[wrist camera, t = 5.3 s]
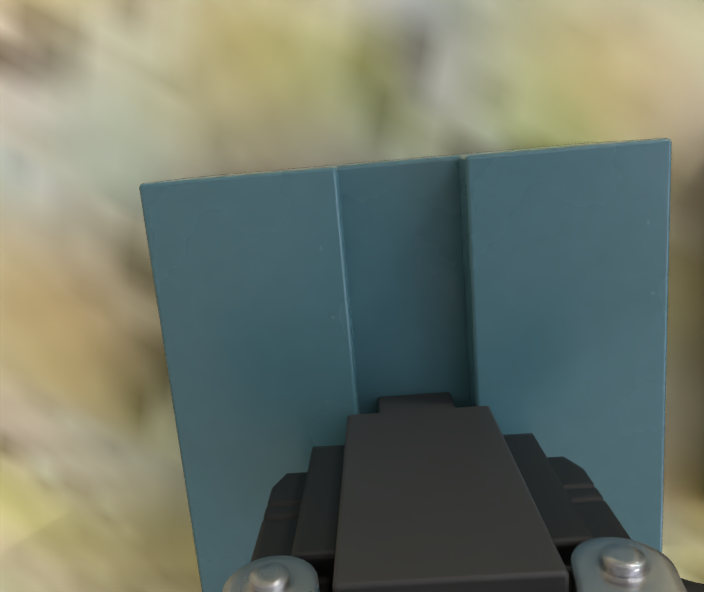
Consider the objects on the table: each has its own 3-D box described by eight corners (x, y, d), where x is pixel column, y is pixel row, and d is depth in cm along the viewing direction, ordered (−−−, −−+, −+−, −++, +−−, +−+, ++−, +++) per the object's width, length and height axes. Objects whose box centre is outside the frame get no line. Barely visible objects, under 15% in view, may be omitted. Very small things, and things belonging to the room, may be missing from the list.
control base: (194, 176, 16) (125, 185, 11) (596, 142, 15) (690, 136, 11) (266, 706, 19) (235, 872, 15) (597, 690, 19) (668, 857, 14)
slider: (349, 388, 14) (331, 586, 7) (477, 380, 14) (570, 572, 7) (359, 504, 14) (351, 776, 8) (483, 496, 14) (572, 768, 8)
